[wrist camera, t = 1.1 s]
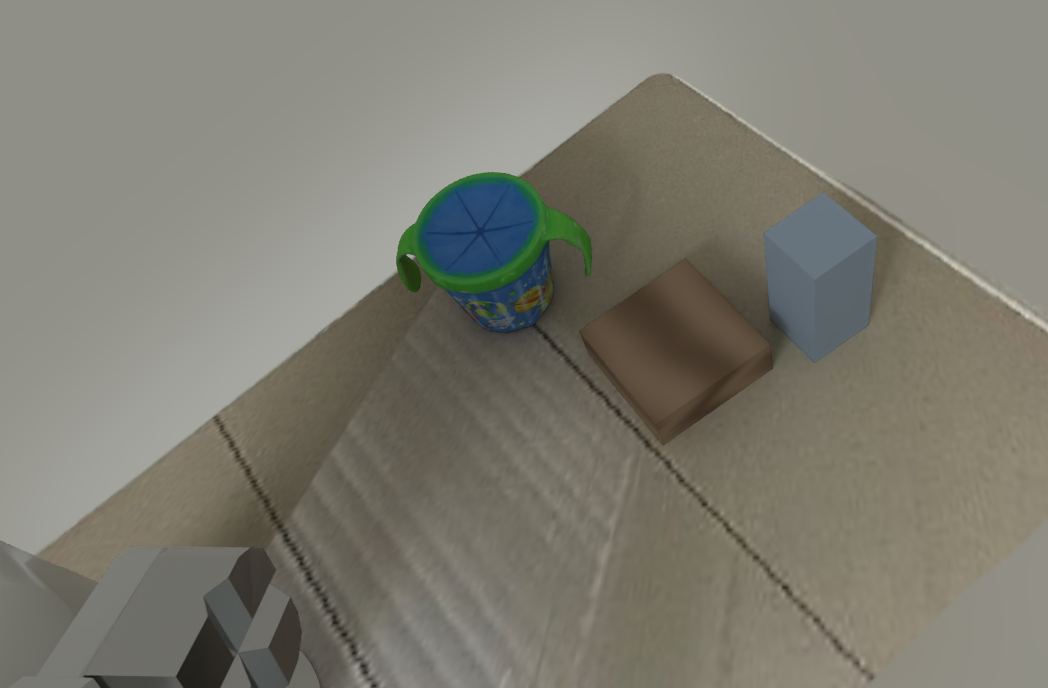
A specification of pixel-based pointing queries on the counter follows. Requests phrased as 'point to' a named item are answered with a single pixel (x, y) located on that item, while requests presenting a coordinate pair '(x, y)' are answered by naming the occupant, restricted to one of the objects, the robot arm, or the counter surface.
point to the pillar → (820, 275)
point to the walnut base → (677, 350)
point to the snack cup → (490, 248)
